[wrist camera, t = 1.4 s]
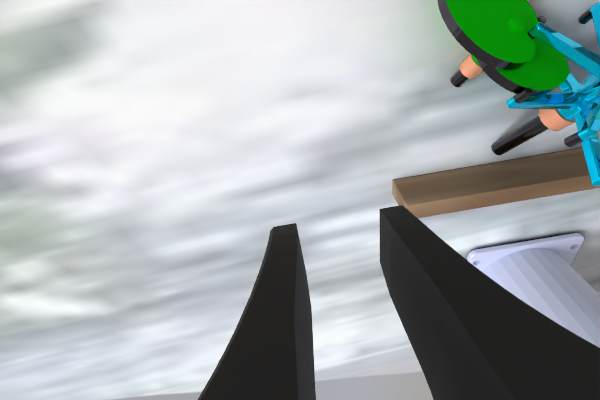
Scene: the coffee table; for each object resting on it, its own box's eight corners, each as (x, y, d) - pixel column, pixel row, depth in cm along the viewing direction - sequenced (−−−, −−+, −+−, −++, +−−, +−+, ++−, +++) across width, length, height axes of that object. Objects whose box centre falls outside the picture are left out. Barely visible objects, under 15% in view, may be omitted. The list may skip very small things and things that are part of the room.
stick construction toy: (716, 50, 15) (739, 199, 12) (561, 131, 21) (550, 242, 18) (483, -97, 14) (439, 23, 11) (395, 35, 20) (351, 135, 17)
